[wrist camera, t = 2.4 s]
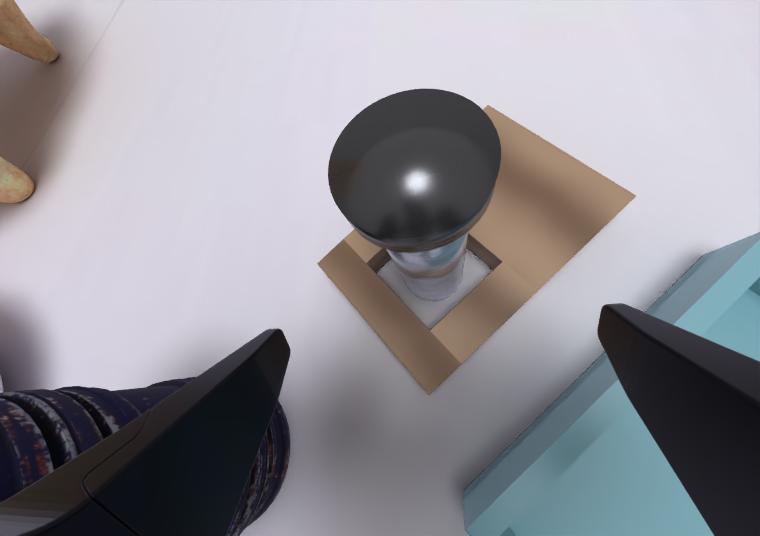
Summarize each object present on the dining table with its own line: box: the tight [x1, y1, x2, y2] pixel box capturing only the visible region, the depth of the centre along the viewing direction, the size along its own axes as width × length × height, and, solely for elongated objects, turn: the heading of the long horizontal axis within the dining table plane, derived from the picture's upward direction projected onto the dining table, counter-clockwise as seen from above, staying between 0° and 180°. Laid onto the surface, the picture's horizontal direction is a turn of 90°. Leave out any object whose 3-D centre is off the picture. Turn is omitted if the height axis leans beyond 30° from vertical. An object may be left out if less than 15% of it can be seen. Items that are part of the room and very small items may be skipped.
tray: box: [462, 232, 760, 536], centre depth 13 cm, size 20×13×4 cm, turn 131°
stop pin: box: [328, 89, 501, 301], centre depth 15 cm, size 5×5×13 cm
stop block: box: [317, 105, 636, 395], centre depth 20 cm, size 16×11×2 cm, turn 131°
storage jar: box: [0, 377, 290, 536], centre depth 14 cm, size 10×10×15 cm
